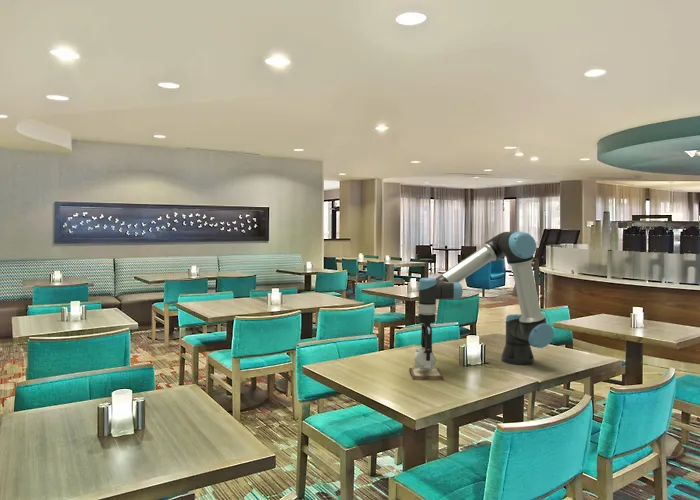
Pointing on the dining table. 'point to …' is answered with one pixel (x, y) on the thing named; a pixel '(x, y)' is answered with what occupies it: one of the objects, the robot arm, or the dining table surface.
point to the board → (426, 374)
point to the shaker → (416, 355)
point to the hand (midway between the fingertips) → (425, 364)
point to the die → (420, 360)
